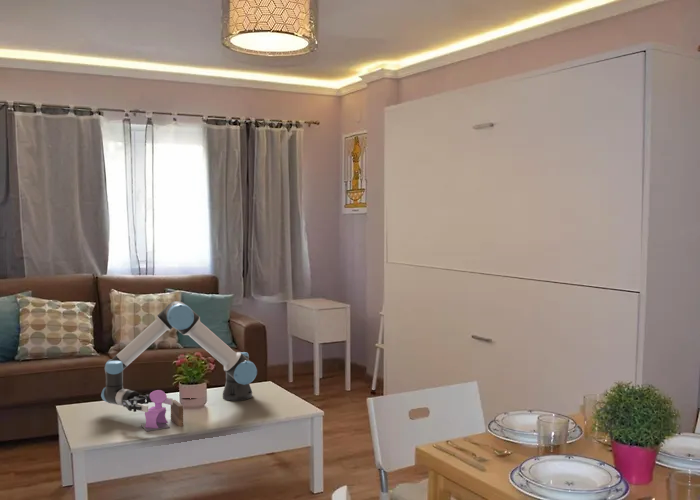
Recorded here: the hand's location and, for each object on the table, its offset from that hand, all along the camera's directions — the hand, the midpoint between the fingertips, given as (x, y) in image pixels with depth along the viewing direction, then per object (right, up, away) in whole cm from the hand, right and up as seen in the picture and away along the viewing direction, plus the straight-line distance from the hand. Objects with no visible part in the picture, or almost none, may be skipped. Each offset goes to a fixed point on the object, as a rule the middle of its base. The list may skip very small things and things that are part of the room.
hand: (160, 405), depth 289 cm
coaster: (-3, -10, +2) cm, 11 cm away
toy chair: (-2, -10, +3) cm, 10 cm away
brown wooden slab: (+5, -10, +8) cm, 14 cm away
